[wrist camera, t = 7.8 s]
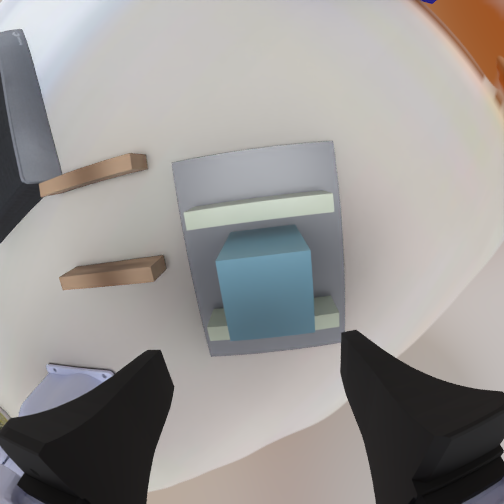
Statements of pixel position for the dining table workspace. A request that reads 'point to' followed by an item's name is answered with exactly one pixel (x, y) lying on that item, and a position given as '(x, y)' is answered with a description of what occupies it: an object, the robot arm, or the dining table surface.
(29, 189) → the external hard drive
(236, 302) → the blue rectangular block
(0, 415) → the ceramic cup
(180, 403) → the dining table surface
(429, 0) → the blue cradle holder
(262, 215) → the dock
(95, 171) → the cradle
